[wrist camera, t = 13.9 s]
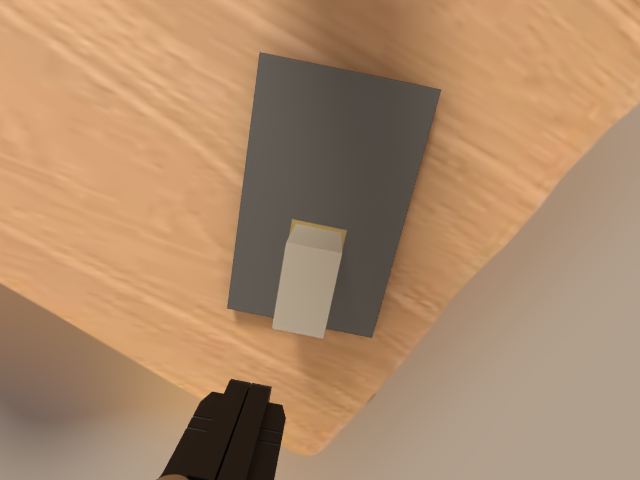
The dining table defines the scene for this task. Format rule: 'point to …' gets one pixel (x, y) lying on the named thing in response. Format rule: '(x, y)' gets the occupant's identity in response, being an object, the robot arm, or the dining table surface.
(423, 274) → the dining table surface
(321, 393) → the dining table surface
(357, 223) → the board
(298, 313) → the block
